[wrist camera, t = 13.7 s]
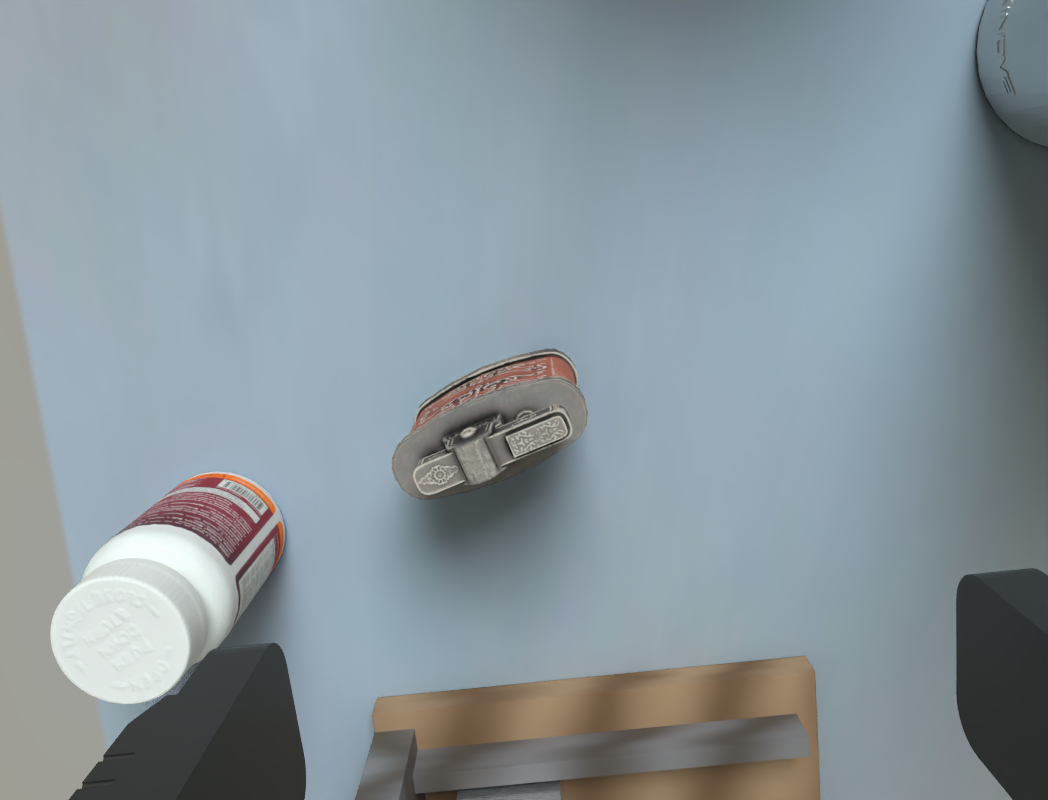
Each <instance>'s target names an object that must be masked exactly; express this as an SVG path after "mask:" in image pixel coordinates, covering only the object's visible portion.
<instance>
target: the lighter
mask: <svg viewBox="0 0 1048 800" xmlns="http://www.w3.org/2000/svg"><path fill="white" fill-rule="evenodd" d="M587 416H588V411H587V407H586V403H585V399H584V396H583V395H582V393H581V392H580V390H579V388H578V376H577V372H576V368H575V365H574V364H573V362H572V360H571V359H570V358H569V357H568V356H567V355H566V354H565V353H563V352H561V351H559V350H556V349H544V350H539V351H534V352H530V353H525V354H520V355H516V356H512V357H509V358H506V359H503V360H500V361H498V362H495V363H492V364H489V365H486V366H483V367H481V368H479V369H477V370H475V371H473V372H471V373H469V374H467V375H465V376H463V377H461V378H459V379H457V380H455V381H453V382H451V383H450V384H449V385H447V386H446V387H444V388H443V389H441V390H440V391H438V392H437V393H435V394H434V395H432V396H431V397H429V398H428V399H426V400H425V401H424V402H423V403H422V404H421V405H420V407H419V409H418V411H417V414H416V416H415V425H414V427H413V428H412V430H411V432H410V434H409V435H407V436H406V437H405V438H404V439H403V440H402V441H401V442H400V443H399V444H398V446H397V448H396V450H395V452H394V455H393V458H392V470H393V473H394V477H395V480H396V481H397V483H398V484H399V486H400V487H401V488H402V489H403V490H404V491H405V492H406V493H408V494H409V495H410V496H412V497H415V498H418V499H435V498H440V497H445V496H449V495H454V494H459V493H464V492H469V491H472V490H475V489H478V488H481V487H484V486H487V485H490V484H493V483H496V482H499V481H502V480H505V479H507V478H510V477H512V476H514V475H516V474H518V473H520V472H522V471H524V470H526V469H528V468H530V467H532V466H534V465H536V464H538V463H540V462H542V461H544V460H545V459H547V458H548V457H550V456H552V455H553V454H555V453H556V452H558V451H559V450H561V449H562V448H564V447H566V446H567V445H569V444H570V443H572V442H573V441H575V440H576V439H577V438H578V437H579V436H580V435H581V434H582V433H583V431H584V429H585V427H586V424H587Z"/></svg>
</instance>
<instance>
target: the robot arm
mask: <svg viewBox="0 0 1048 800" xmlns="http://www.w3.org/2000/svg"><path fill="white" fill-rule="evenodd" d="M977 59H978V70H979V76H980V79H981V82H982V86H983V89H984V92H985V95H986V97H987V99H988V100H989V102H990V104H991V105H992V107H993V109H994V111H995V112H996V114H997V115H998V116H999V117H1000V118H1001V119H1002V120H1003V121H1004V122H1005V123H1006V124H1007V126H1008V127H1009V128H1010V129H1011V130H1013V131H1014V132H1016V133H1017V134H1019V135H1021V136H1022V137H1024V138H1025V139H1027V140H1029V141H1031V142H1034V143H1037V144H1040V145H1043V146H1046V147H1048V0H988V1H987V3H986V6H985V10H984V13H983V16H982V20H981V23H980V26H979V34H978V44H977ZM956 636H957V705H958V711H959V716H960V720H961V723H962V726H963V729H964V732H965V735H966V737H967V739H968V741H969V743H970V745H971V747H972V749H973V751H974V752H975V754H976V755H977V756H978V758H979V759H980V760H981V761H982V762H983V764H984V765H985V766H986V767H987V769H988V770H989V771H990V772H991V773H992V775H993V776H994V777H995V778H996V780H997V781H998V782H999V783H1000V784H1001V786H1002V787H1003V788H1004V789H1005V791H1006V792H1007V793H1008V794H1009V795H1010V797H1011V798H1012V799H1013V800H1048V576H1047V575H1046V574H1044V573H1043V572H1041V571H1039V570H1037V569H1034V568H1031V569H1020V570H1010V571H1000V572H990V573H980V574H970V575H966V576H964V577H963V578H962V579H961V581H960V583H959V585H958V589H957V599H956ZM82 783H83V786H82V789H77V790H76V791H75V792H74V794H73V795H72V796H71V798H70V799H69V800H304V799H305V789H306V768H305V759H304V753H303V747H302V742H301V737H300V732H299V726H298V721H297V716H296V711H295V706H294V700H293V695H292V690H291V685H290V679H289V674H288V669H287V664H286V660H285V656H284V653H283V651H282V649H281V648H280V646H279V645H278V644H276V643H267V644H257V645H247V646H237V647H227V648H217V649H212V650H211V651H209V652H208V654H207V655H206V656H205V657H204V659H203V660H202V662H201V663H200V664H199V666H198V667H197V668H196V670H195V671H194V673H193V674H192V675H191V677H190V678H189V679H188V681H187V682H186V683H185V685H184V686H183V688H182V689H181V690H180V692H179V693H178V694H177V695H169V696H165V697H164V698H163V699H161V700H160V701H159V702H157V703H156V704H155V705H153V706H152V707H150V708H149V709H148V710H146V711H145V712H144V713H142V714H141V715H140V716H138V717H137V718H136V719H134V720H133V721H131V722H130V723H129V724H128V725H127V726H126V727H125V729H124V730H123V731H122V732H121V734H120V735H119V736H118V738H117V739H116V740H115V741H114V743H113V744H112V745H111V746H110V748H109V749H108V750H107V752H106V753H105V754H104V759H103V762H98V763H97V764H96V766H95V767H94V768H93V769H92V771H91V772H90V773H89V775H88V776H87V777H86V778H85V780H84V781H83V782H82Z"/></svg>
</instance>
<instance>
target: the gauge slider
mask: <svg viewBox="0 0 1048 800" xmlns="http://www.w3.org/2000/svg"><path fill="white" fill-rule="evenodd" d="M457 800H563V793H562V785H561V780H556V781H545V782H535V783H524V784H513V785H503V786H492V787H481V788H471V789H460V790H458V792H457Z"/></svg>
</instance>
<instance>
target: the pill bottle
mask: <svg viewBox="0 0 1048 800" xmlns="http://www.w3.org/2000/svg"><path fill="white" fill-rule="evenodd" d="M284 544H285V526H284V521H283V517H282V514H281V512H280V510H279V507H278V506H277V504H276V502H275V501H274V499H273V498H272V496H271V495H270V494H269V493H268V492H267V491H266V490H265V489H264V488H262V487H261V486H260V485H258V484H257V483H255V482H254V481H252V480H250V479H248V478H246V477H244V476H241V475H238V474H234V473H228V472H208V473H203V474H199V475H196V476H193V477H191V478H189V479H187V480H186V481H184V482H182V483H181V484H179V485H178V486H177V487H176V488H174V489H173V490H172V491H170V492H169V493H168V494H167V495H165V496H164V497H163V498H162V499H161V500H159V501H158V502H157V503H156V504H154V505H153V506H152V507H151V508H150V509H148V510H147V511H146V512H145V513H143V514H142V515H141V516H140V517H138V518H137V519H136V520H135V521H133V522H132V523H131V524H129V525H128V526H127V527H126V528H125V529H123V530H122V531H121V532H119V533H118V534H117V535H115V536H114V537H112V538H111V539H110V540H109V541H107V542H106V543H105V544H104V546H102V547H101V548H100V549H99V550H98V551H97V553H96V554H95V555H94V556H93V557H92V559H91V561H90V562H89V564H88V566H87V568H86V570H85V572H84V574H83V577H82V581H81V582H80V583H79V584H78V585H77V586H75V587H74V588H73V589H72V590H71V591H70V592H69V593H68V594H67V595H66V596H65V597H64V598H63V599H62V601H61V602H60V604H59V605H58V607H57V609H56V611H55V613H54V616H53V619H52V623H51V633H50V634H51V635H50V637H51V645H52V649H53V653H54V655H55V658H56V660H57V663H58V664H59V666H60V668H61V669H62V671H63V672H64V674H65V675H66V676H67V677H68V678H69V679H70V680H71V681H72V682H73V683H74V684H75V685H76V686H77V687H79V688H80V689H82V690H83V691H84V692H86V693H88V694H90V695H92V696H94V697H96V698H98V699H101V700H104V701H107V702H111V703H117V704H138V703H143V702H147V701H151V700H153V699H156V698H158V697H160V696H162V695H164V694H165V693H167V692H168V691H169V690H171V689H172V688H173V687H174V686H175V685H176V684H177V683H178V682H179V681H180V679H181V678H182V677H183V676H184V675H185V673H186V672H187V671H188V670H189V669H190V667H191V666H192V665H193V664H195V663H197V662H199V661H201V660H203V659H204V657H205V656H206V655H207V654H208V652H209V651H211V650H212V649H216V648H217V647H218V646H219V645H220V644H221V643H222V642H223V641H224V639H225V638H226V637H227V635H228V634H229V633H230V631H231V630H232V628H233V627H234V625H235V624H236V622H237V621H238V619H239V618H240V617H241V615H242V614H243V612H244V611H245V609H246V608H247V607H248V605H249V604H250V602H251V601H252V599H253V598H254V596H255V595H256V594H257V592H258V591H259V589H260V588H261V586H262V585H263V584H264V582H265V581H266V579H267V578H268V576H269V575H270V574H271V572H272V571H273V569H274V568H275V566H276V564H277V563H278V561H279V559H280V557H281V554H282V552H283V548H284Z"/></svg>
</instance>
